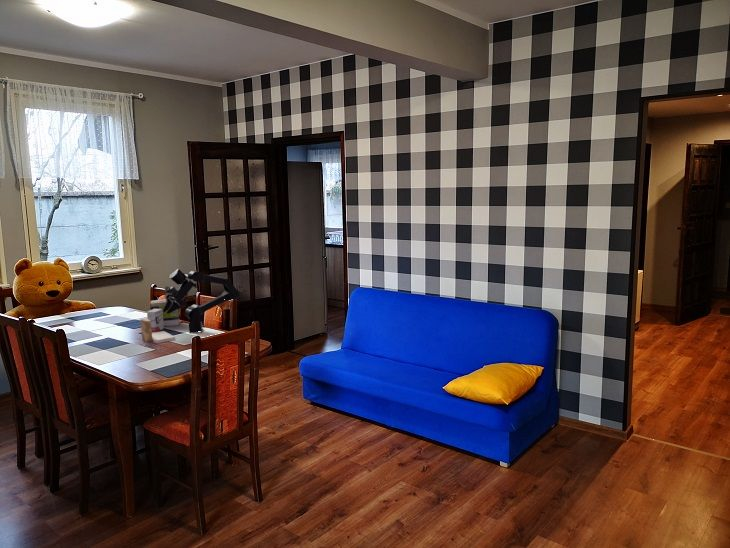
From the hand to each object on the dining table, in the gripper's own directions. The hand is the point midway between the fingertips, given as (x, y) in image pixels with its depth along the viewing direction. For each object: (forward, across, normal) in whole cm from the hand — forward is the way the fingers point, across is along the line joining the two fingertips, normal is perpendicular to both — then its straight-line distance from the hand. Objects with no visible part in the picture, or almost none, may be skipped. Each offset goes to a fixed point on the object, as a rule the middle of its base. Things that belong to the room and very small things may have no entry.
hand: (165, 312), depth 297 cm
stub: (+17, 0, +2) cm, 17 cm away
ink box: (+9, -19, +10) cm, 23 cm away
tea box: (+3, -28, +16) cm, 32 cm away
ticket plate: (+12, 0, +7) cm, 14 cm away
